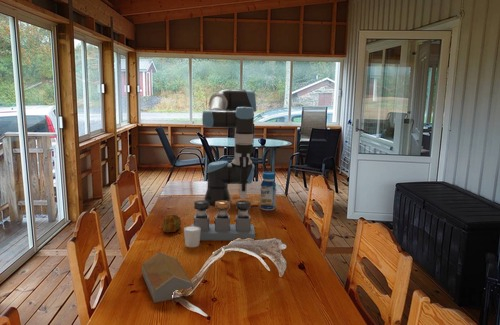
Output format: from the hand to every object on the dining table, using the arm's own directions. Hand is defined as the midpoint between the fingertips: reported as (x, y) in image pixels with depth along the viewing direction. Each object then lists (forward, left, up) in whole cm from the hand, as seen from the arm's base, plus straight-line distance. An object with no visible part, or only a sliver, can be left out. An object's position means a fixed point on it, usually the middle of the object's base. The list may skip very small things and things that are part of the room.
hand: (243, 197), depth 168 cm
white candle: (+11, -21, -17) cm, 29 cm away
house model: (+45, -26, -18) cm, 55 cm away
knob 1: (0, -18, -10) cm, 20 cm away
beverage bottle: (-42, +15, -17) cm, 48 cm away
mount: (0, -9, -17) cm, 19 cm away
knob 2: (0, 0, -10) cm, 10 cm away
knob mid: (0, -9, -10) cm, 13 cm away
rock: (-7, -32, -17) cm, 37 cm away
